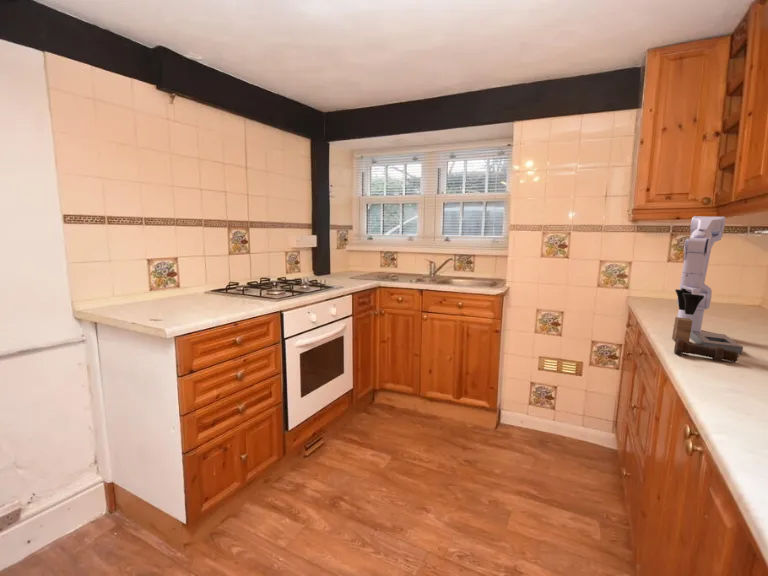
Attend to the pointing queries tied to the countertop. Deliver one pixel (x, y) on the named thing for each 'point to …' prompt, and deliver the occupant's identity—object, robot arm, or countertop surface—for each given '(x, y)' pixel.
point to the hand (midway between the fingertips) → (685, 312)
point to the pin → (682, 329)
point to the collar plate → (715, 341)
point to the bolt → (705, 351)
